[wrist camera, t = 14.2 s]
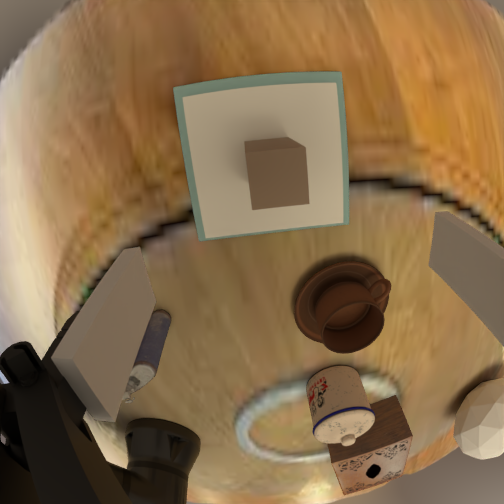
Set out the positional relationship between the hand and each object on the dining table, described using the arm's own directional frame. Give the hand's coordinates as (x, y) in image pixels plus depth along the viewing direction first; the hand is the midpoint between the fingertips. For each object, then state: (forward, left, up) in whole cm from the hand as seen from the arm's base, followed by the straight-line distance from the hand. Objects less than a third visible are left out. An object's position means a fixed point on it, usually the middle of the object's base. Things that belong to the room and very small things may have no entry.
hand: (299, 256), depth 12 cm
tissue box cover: (+16, -56, -19) cm, 61 cm away
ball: (+46, -53, -19) cm, 73 cm away
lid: (0, +1, -18) cm, 18 cm away
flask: (-18, -19, -19) cm, 32 cm away
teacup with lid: (+7, -35, -19) cm, 40 cm away
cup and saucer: (+8, -17, -19) cm, 27 cm away
